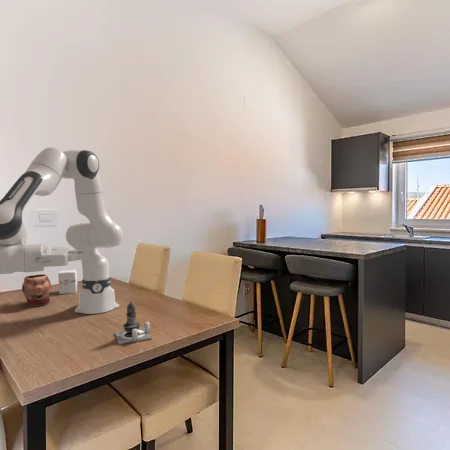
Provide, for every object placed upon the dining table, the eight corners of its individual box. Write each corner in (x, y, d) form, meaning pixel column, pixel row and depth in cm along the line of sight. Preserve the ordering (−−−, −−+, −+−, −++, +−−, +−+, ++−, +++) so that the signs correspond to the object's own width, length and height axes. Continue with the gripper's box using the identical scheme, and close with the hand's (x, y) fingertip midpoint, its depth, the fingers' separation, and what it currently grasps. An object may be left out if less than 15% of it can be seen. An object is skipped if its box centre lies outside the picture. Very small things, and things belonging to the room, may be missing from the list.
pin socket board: (115, 333, 123) (114, 322, 123) (146, 328, 128) (146, 317, 128) (118, 345, 112) (118, 333, 112) (153, 339, 117) (152, 327, 117)
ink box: (61, 290, 189) (60, 270, 188) (77, 289, 192) (77, 269, 191) (58, 294, 181) (57, 272, 180) (76, 293, 183) (75, 271, 183)
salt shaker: (142, 331, 123) (141, 298, 122) (138, 337, 117) (136, 303, 116) (126, 331, 123) (125, 298, 122) (121, 337, 117) (119, 303, 116)
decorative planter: (18, 302, 167) (16, 274, 167) (45, 297, 176) (44, 270, 175) (28, 310, 153) (26, 280, 152) (57, 305, 161) (56, 276, 160)
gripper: (32, 251, 99) (83, 248, 105) (39, 245, 118) (82, 242, 123) (33, 273, 99) (84, 269, 105) (40, 262, 118) (83, 259, 124)
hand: (83, 254), depth 114 cm, fingers open, 8 cm apart
